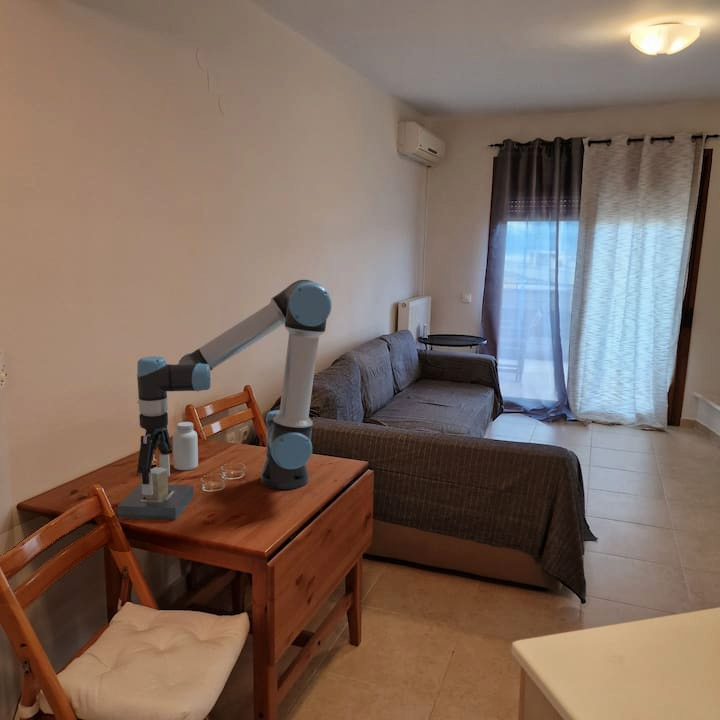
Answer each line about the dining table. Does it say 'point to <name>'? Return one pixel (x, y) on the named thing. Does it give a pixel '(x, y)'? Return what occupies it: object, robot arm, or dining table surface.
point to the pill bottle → (185, 447)
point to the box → (159, 484)
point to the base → (156, 504)
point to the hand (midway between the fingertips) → (156, 484)
